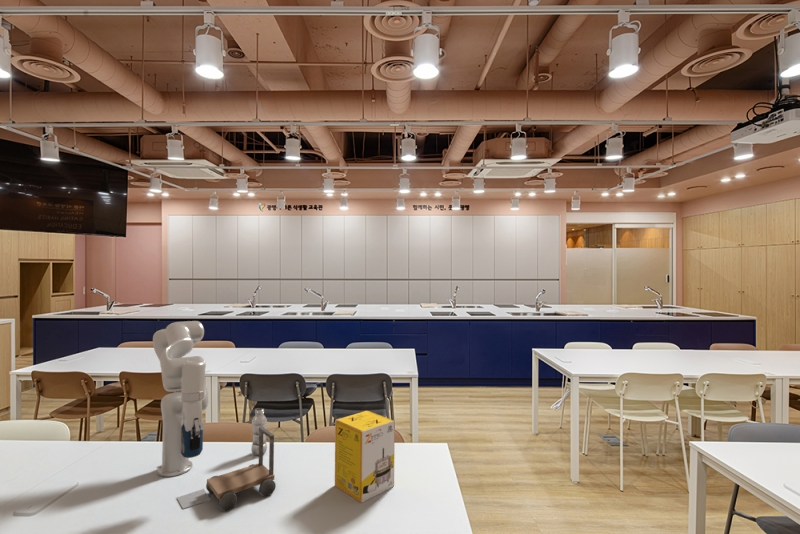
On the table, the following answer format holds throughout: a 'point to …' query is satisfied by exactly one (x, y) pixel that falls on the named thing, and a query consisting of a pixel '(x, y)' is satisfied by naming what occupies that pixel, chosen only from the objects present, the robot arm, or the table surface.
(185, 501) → the mat
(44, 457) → the table surface
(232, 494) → the trolley
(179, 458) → the robot arm
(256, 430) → the plastic bottle
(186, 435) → the soda can
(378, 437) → the packaging box
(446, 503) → the table surface
